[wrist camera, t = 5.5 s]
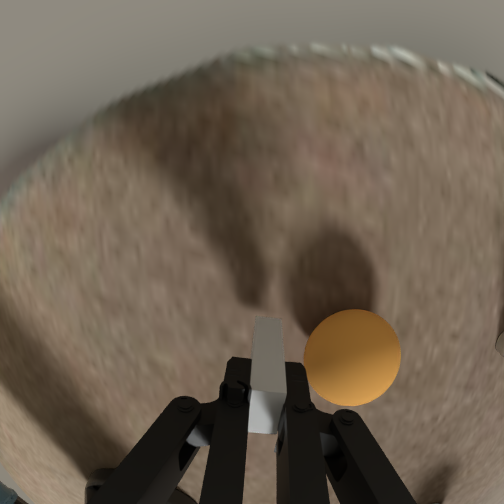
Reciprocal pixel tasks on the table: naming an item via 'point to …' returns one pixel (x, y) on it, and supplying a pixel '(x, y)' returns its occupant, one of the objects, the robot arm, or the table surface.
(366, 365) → the ball
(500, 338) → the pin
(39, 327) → the table surface
